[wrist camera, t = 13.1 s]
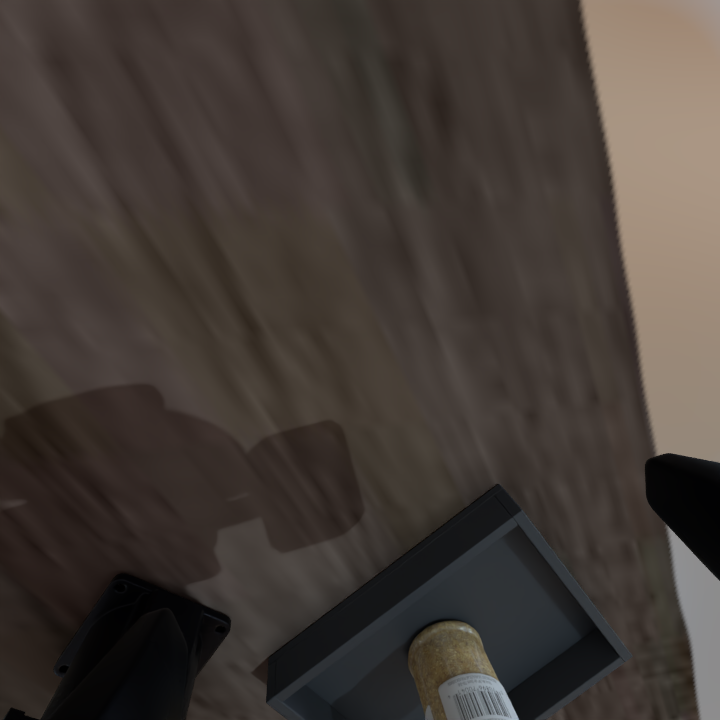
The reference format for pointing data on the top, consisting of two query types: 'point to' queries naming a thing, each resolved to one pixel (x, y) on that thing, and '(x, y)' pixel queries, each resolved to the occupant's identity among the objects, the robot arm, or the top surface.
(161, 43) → the top surface
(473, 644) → the sprinkles bottle
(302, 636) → the tray
